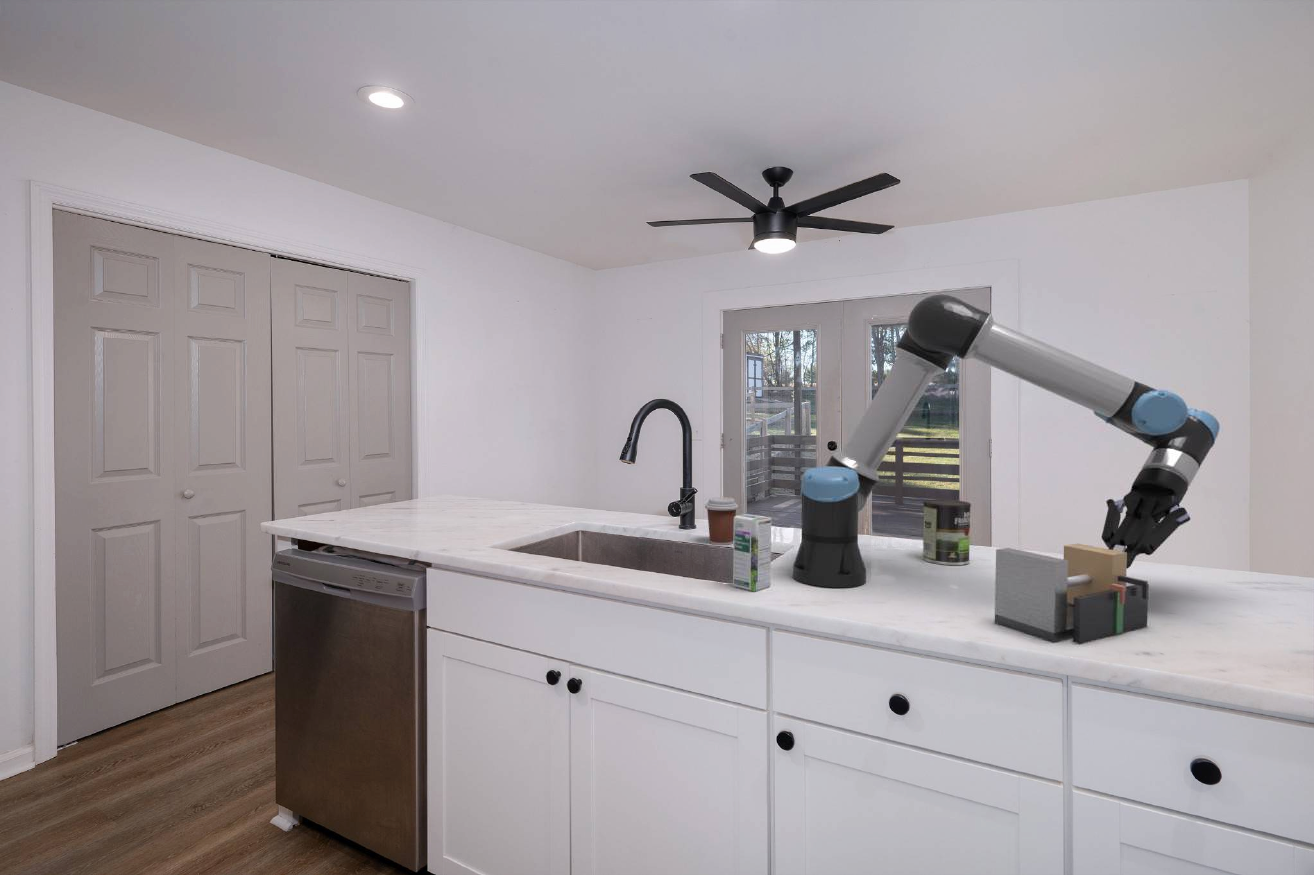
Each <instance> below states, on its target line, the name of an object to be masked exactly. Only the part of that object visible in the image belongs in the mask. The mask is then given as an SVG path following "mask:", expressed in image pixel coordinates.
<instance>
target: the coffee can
mask: <svg viewBox="0 0 1314 875" xmlns="http://www.w3.org/2000/svg"><path fill="white" fill-rule="evenodd" d="M922 504H923V532H922V533H923V535H922V536H923V537H922V538H923V540H922V542H923V543H922V547H923V548H922V560H923V561H925V562H927V561H928V563H931V564H935V565H936V564H937V565H942V564H943V565H944V566H965V565H964V564H966V565H968V564H970V537H971V536H970V535H971V533H970V531H971V506H972V503H970V502H968V501H963V500H956V499H955V500H954V499H925V500H923V502H922ZM943 565H942V566H943Z"/></svg>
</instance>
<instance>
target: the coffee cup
mask: <svg viewBox="0 0 1314 875" xmlns="http://www.w3.org/2000/svg"><path fill="white" fill-rule="evenodd" d="M739 508H740V507H739V505H738V504H737V502H736V500H735V499H734V498H733V497H732V498H731V497H727V496H726V497H723V496H722V497H721V496H720V497H718V496H717V497H710V498H709V499H708V502H707V503H706V504H704V509H706V511H707V522H708V534H709V544H711V545H716V546H729V545H730V546H731V545H734V517H735V516H737V510H739Z"/></svg>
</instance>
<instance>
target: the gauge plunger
mask: <svg viewBox="0 0 1314 875" xmlns="http://www.w3.org/2000/svg"><path fill="white" fill-rule="evenodd" d="M1063 559H1064V560H1068V583H1067V603H1071V604H1074V597H1077V596H1082V595H1087V594H1092V593H1097V592H1102V591H1107V590H1111V584H1118V585H1123V586H1127V584H1130V585H1139V586H1142V598H1143V599H1148V600H1149V592H1150V591H1149V587H1150V586H1149V585H1150V584H1149V581H1148V580H1143V579H1139V578H1134V577H1131V576H1127V571H1128V570H1127V553H1126V552H1121V551H1115V550H1110V549H1109V548H1104V547H1098V546H1093V545H1087V544H1082V543H1073V544H1065V545H1063Z"/></svg>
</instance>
